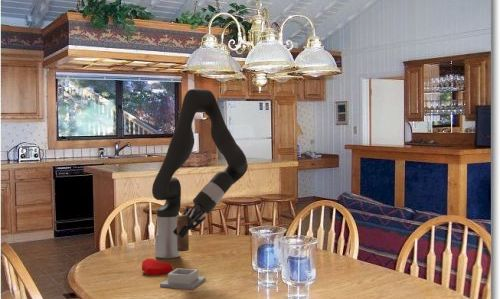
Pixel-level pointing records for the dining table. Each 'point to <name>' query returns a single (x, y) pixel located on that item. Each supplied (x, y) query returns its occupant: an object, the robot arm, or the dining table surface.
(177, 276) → the gray flanged square socket
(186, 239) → the dark brown block
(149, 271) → the heart
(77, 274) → the dining table surface
